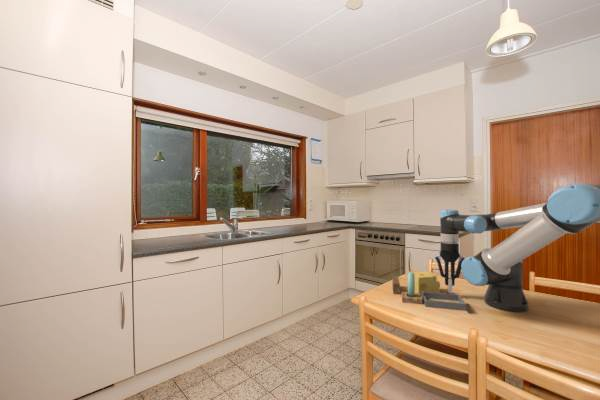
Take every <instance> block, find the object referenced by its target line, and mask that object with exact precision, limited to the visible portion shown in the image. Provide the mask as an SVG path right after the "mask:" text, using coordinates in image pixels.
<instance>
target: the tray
mask: <svg viewBox="0 0 600 400" xmlns="http://www.w3.org/2000/svg"><path fill="white" fill-rule="evenodd" d="M421 298H422V303H423V304H424V307H425V308H434V309H435V308H436V309H444V310H453V311H454V310H455V311H467V303H466V302H465V301H464V299H463V298H462V296H460V294H458V293H457V294H456V293H454V294H453V293H444V292H443V293H442V292H441V293H432V292H422V296H421ZM430 299H432V300H430ZM433 299H434V300H433ZM439 300H441V301H439ZM443 300H444V301H443ZM452 301H454V302H452Z"/></svg>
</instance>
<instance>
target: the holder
mask: <svg viewBox="0 0 600 400" xmlns="http://www.w3.org/2000/svg"><path fill="white" fill-rule="evenodd" d="M400 295H401V296H400V297H401V302H402V303H404V304H406V303H407V304H416V305H423V299H422V296H421V295H420V293H415V297H408V291H400Z"/></svg>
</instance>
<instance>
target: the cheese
mask: <svg viewBox="0 0 600 400" xmlns="http://www.w3.org/2000/svg"><path fill="white" fill-rule="evenodd" d="M411 272H412V273H414V280H415V293H420V295H421V297H422V292H432V293H442V292H441V289H440V288H441V283H440V281H439V279H438V277H437V275H436V274H435V273H433V272H432V271H429V270H428V271H427V270H426V271H411Z"/></svg>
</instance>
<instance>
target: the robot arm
mask: <svg viewBox="0 0 600 400" xmlns="http://www.w3.org/2000/svg"><path fill="white" fill-rule="evenodd" d="M439 216H440V218H439V220H440V221H439V223H440V241H441V242H440V252H439V254H438V255H434V258H435V260H436V263H437V265H438V270H439V274H440V277H442V278H444V285H445V286H447V289H446V290H447V294H453V287H455V280H456V279H459V278H460V275H461V274H462V276H463V278H464V279H465V280H466V281H467V282H468V283H469V284H471V285H473V286H475V287H485V286H487V285H488V286H487V289H486V291H485V294H484V300H483V301H484V303H485V304H486V305H488V306H489V307H492V308H496V309H498V310H502V311H507V312H516V313H517V312H518V313H521V312H523V313H524V312H527V311H528V310H529V302H528V300H527V297H526V294H525V291H524V289H523V285H524V284H523V283H524V282H523V281H524V280H523V270H524V269H523V267H524V262H523V260H525V259H527V258H528V257H531V255H533V254H535V253H537V252H538V251H540V250H541V249H543V248H544V247H546V246H548V245H549V244H551V243H553V242H554V241H557V240H558V239H560V237H563V236H565V235H566V234H572V235H576V234H578V233H580V232H582V231H584V230H585V229H587V228H589V227H590V226H593V224H595V223H600V184H588V183H587V184H585V183H577V184H575V183H574V184H570V185H565V186H563V187H560V188H558V189H555V191H553V192H552V193H551V194H550V195H549V197H548V199H547V202H543V203H539V204H534V205H528V206H523V207H519V208H518V207H517V208H514V209H508V210H504V211H503V210H502V211H498V212H493V213H486V214H460V213H459V210H458V209H442V210H441V211H440V215H439ZM515 228H519V229H518V230H516V231H515V232H514V233H512V234H510V235H509V236H508V237H506V238H505V239H504V240H503V241H501V242H500V243H498V244H497V245H495V246H494V247H492V248H490V247H489V248H488V247H487V248H484V249H482V250H481V251H480V252H478V253H476V254H475V255H474V256H467V257H463V256H461V255H460V252H459V250H460V248H459V247H460V246H459V241H460V237H459V235H460V234H459V233H460V232H464V233H470V234H483V233H484V232H495V231H496V232H497V231H500V230H506V229H515ZM441 259H442V260H443V261H444V263H443V264H444V270H443V265H442V263H441ZM457 260H458V263H457V267H456V262H457ZM449 265H450V268H449ZM449 269H450V273H449ZM455 269H456V270H455ZM449 274H450V277H449Z"/></svg>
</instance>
